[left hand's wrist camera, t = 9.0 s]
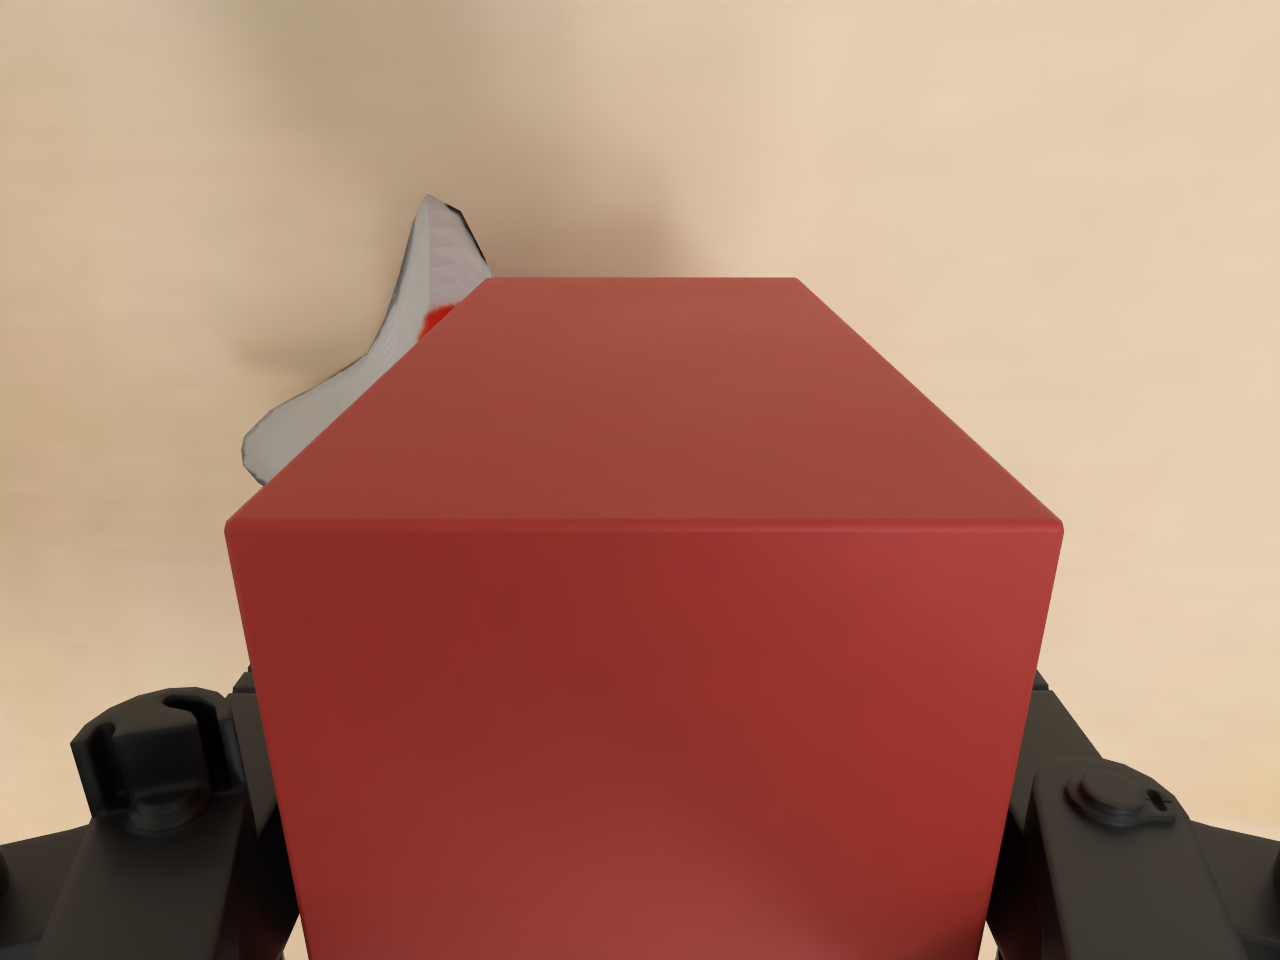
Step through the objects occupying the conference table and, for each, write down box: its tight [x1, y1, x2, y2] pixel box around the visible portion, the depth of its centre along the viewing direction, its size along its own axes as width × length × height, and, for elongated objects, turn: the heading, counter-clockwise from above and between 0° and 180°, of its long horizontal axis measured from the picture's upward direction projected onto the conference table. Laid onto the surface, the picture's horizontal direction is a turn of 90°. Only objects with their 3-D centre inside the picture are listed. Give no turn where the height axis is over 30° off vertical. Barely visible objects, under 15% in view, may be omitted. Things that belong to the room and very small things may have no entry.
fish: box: [241, 194, 493, 486], centre depth 24 cm, size 11×16×10 cm
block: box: [224, 278, 1064, 960], centre depth 12 cm, size 8×5×10 cm, turn 0°
